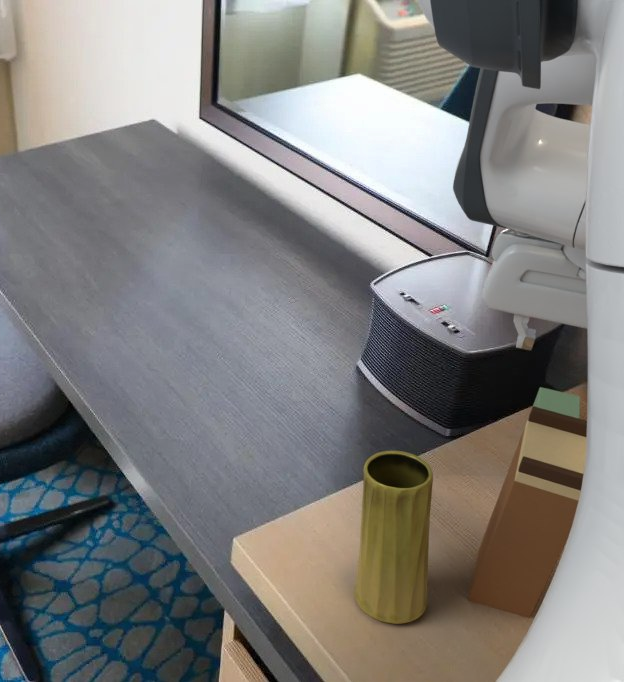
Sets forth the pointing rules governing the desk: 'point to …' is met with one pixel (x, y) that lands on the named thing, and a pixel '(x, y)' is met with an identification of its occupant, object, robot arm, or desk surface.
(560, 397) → the green pad
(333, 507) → the desk surface
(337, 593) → the desk surface
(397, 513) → the vase
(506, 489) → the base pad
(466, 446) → the desk surface
